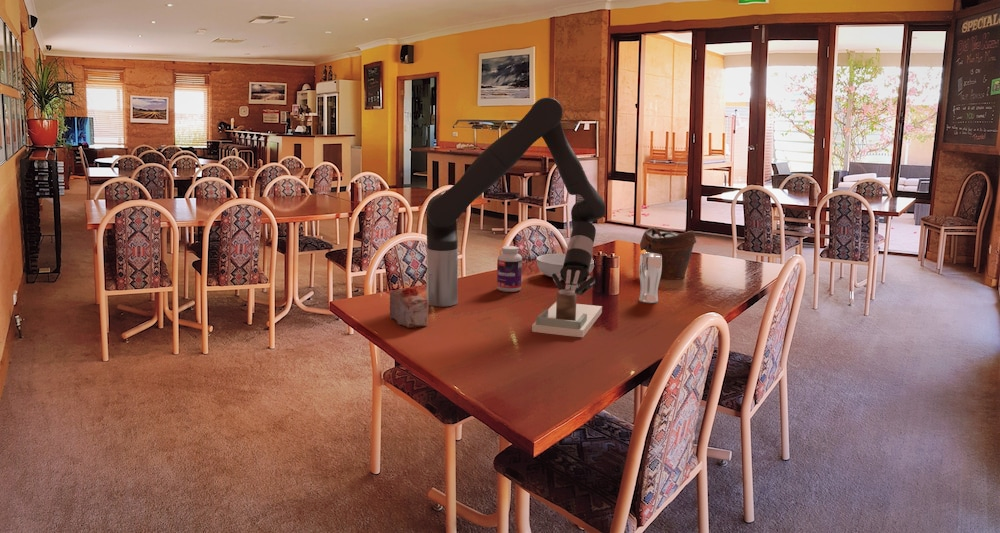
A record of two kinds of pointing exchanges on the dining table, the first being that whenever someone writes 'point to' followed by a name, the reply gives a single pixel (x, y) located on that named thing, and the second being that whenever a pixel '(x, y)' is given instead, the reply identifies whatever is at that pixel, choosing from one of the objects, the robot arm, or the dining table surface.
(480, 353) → the dining table surface
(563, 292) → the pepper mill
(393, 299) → the grey stone block
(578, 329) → the board
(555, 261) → the serving bowl
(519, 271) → the pill bottle
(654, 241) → the brown bucket
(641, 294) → the beer glass
